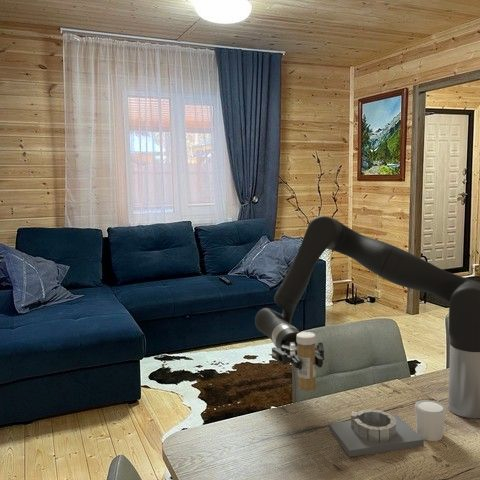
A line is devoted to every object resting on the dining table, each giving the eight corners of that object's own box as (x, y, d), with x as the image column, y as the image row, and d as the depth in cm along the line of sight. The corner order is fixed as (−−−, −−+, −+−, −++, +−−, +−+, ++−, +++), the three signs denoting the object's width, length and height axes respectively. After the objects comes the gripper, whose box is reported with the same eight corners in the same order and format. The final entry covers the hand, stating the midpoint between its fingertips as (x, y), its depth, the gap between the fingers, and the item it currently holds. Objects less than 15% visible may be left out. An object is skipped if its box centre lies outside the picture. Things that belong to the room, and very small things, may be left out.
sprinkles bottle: (320, 388, 116) (319, 334, 114) (305, 394, 113) (305, 338, 111) (307, 382, 119) (306, 329, 118) (293, 387, 117) (292, 333, 115)
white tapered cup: (445, 430, 115) (446, 402, 114) (444, 444, 109) (445, 415, 108) (415, 424, 118) (416, 397, 117) (412, 438, 112) (413, 410, 111)
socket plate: (396, 420, 121) (396, 414, 120) (424, 445, 109) (424, 439, 109) (328, 429, 117) (328, 423, 117) (349, 456, 105) (349, 450, 105)
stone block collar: (383, 418, 118) (383, 407, 118) (403, 439, 109) (403, 426, 109) (347, 423, 117) (347, 411, 116) (365, 444, 107) (365, 432, 107)
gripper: (262, 329, 127) (280, 352, 111) (313, 324, 130) (339, 346, 113) (263, 356, 128) (281, 383, 112) (314, 351, 131) (339, 376, 114)
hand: (310, 364), depth 113 cm, fingers closed on sprinkles bottle, 4 cm apart
